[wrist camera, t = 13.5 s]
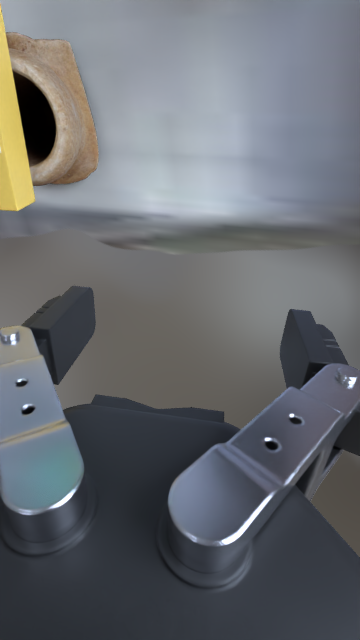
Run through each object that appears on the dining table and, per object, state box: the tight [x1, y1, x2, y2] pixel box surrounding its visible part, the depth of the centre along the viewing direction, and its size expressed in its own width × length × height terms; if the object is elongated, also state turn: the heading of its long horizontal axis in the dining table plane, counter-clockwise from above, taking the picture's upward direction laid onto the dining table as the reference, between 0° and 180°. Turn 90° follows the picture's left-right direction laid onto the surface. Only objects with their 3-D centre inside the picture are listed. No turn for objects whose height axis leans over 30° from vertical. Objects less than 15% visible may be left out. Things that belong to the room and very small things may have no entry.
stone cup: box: [5, 32, 99, 186], centre depth 33 cm, size 15×12×15 cm
